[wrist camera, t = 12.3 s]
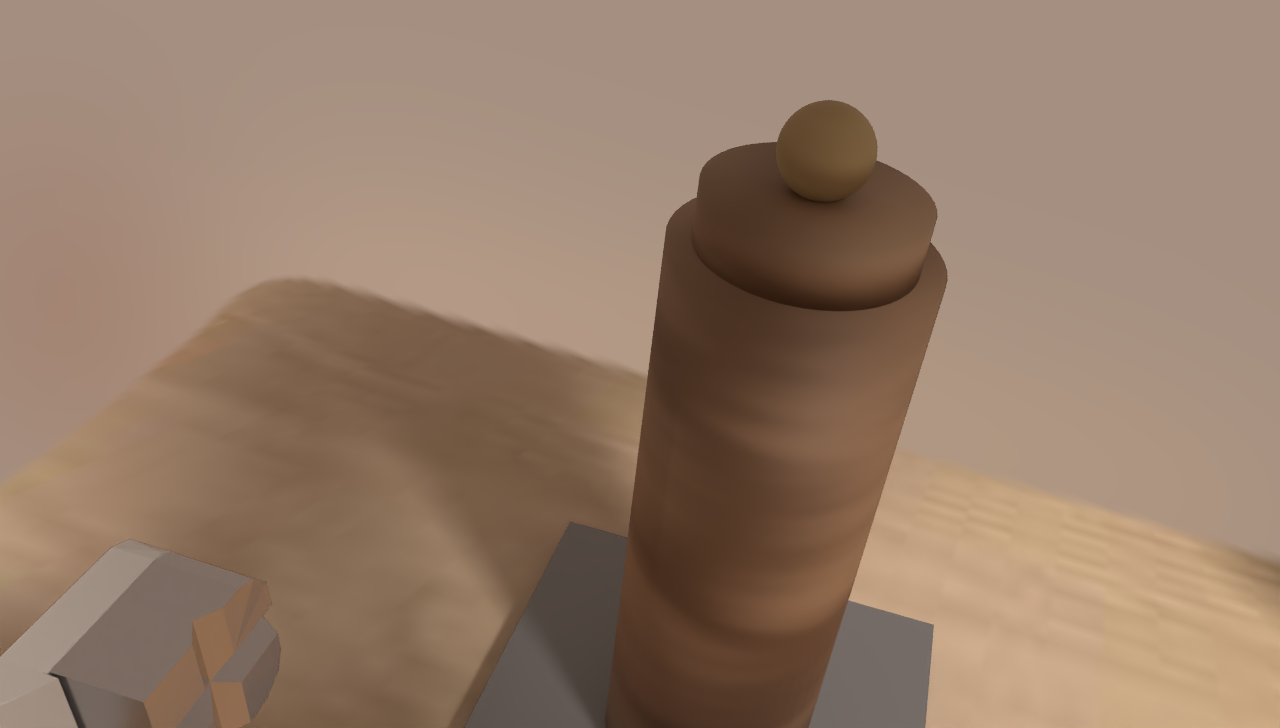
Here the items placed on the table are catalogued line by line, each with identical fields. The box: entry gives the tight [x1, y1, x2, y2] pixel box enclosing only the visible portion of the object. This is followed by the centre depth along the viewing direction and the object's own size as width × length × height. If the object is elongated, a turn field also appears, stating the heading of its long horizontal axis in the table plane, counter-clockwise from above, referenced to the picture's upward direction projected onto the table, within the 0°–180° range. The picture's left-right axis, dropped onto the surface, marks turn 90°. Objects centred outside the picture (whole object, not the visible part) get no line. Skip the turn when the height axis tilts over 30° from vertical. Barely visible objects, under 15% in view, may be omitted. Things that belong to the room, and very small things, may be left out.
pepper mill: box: [605, 100, 947, 728], centre depth 23 cm, size 5×5×18 cm
